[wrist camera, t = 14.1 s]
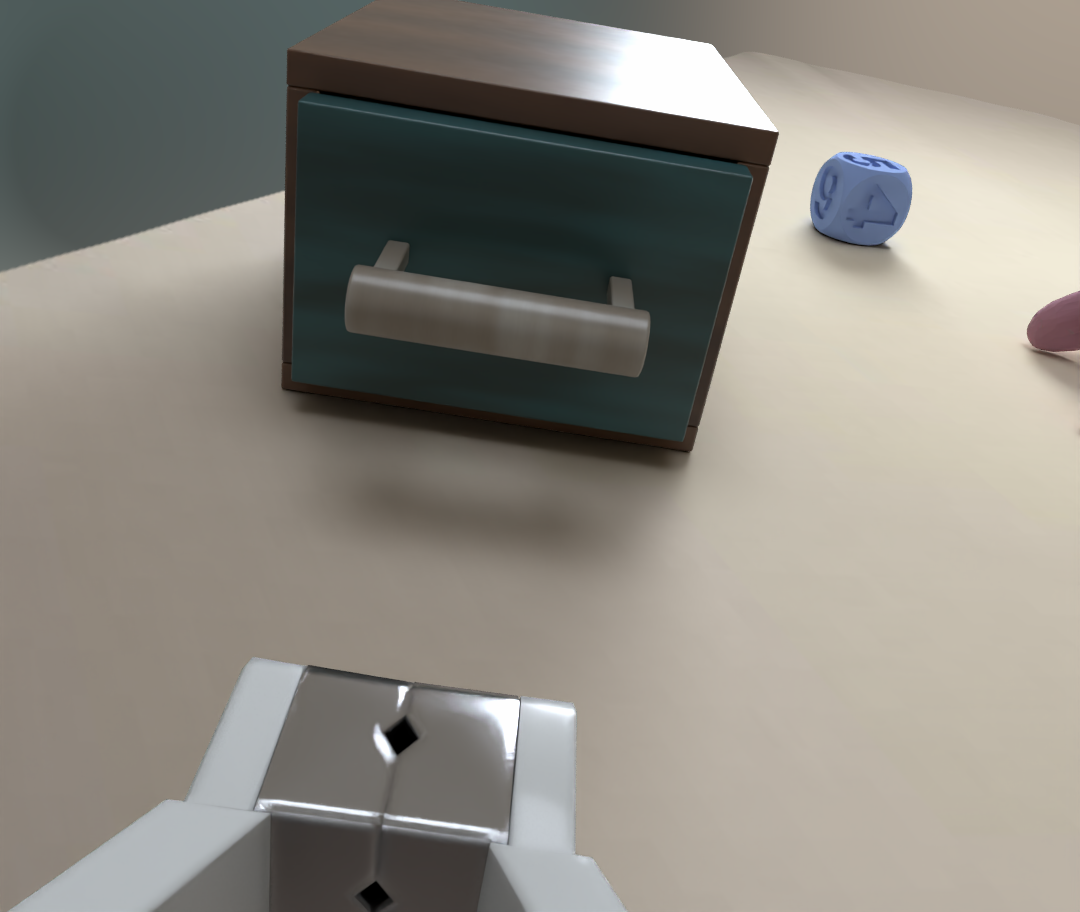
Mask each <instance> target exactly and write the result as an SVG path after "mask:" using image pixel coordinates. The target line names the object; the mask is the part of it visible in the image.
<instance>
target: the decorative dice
mask: <svg viewBox="0 0 1080 912" xmlns="http://www.w3.org/2000/svg"><path fill="white" fill-rule="evenodd" d="M911 199H912V182H911V178H910V175H909V173H908V171H907V169H906V168H905V167H904V166H902V165H900V164H898V163H895V162H893V161H890V160H887V159H884V158H880V157H876V156H872V155H867V154H861V153H853V152H840V153H838V154H836V155H834V156H833V157H831V158H830V159H829V160H828V161H827V162H826V163H825V164H824V165H823V166H822V167H821V169H820V171H819V172H818V175H817V177H816V179H815V182H814V185H813V189H812V194H811V203H810V211H811V218H812V222H813V224H814V226H815V227H816V229H817V230H818V231H820V232H821V233H823V234H825V235H827V236H829V237H832V238H834V239H837V240H841V241H844V242H848V243H853V244H859V245H879V244H881V243H883V242H885V241H886V240H888V239H889V238H891V237H892V236H893V235H894V234H895V233H896V232H897V231H898V230H899V229H900V228H901V226H902V225H903V223H904V221H905V219H906V217H907V215H908V212H909V209H910V205H911Z"/></svg>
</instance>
